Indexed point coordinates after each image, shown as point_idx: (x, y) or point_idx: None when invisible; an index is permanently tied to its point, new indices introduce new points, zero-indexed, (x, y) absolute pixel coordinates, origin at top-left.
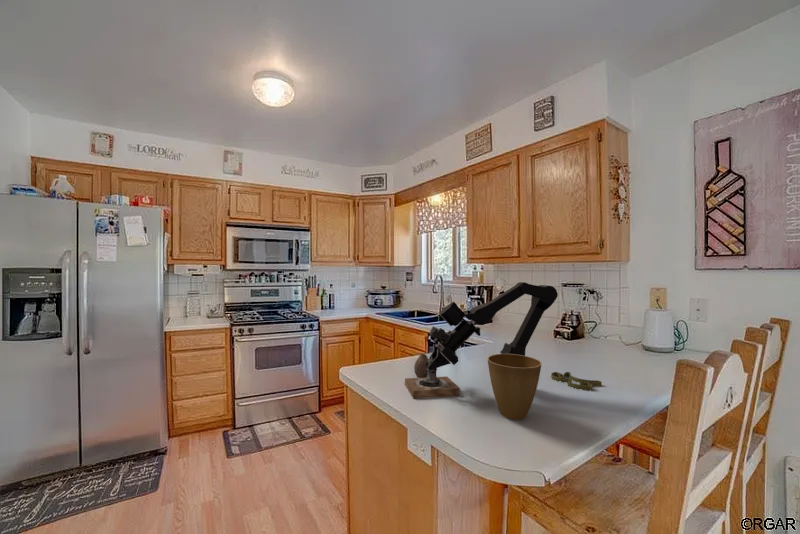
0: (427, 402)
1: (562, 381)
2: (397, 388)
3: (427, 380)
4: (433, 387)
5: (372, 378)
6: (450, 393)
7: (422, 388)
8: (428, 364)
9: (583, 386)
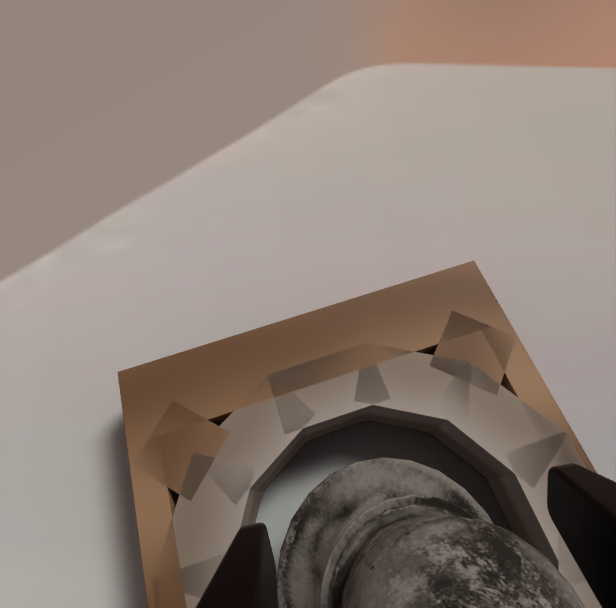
0: (50, 528)
1: None
2: (366, 249)
3: (328, 515)
4: None
5: (535, 73)
6: None
7: (186, 461)
8: (386, 533)
9: None
